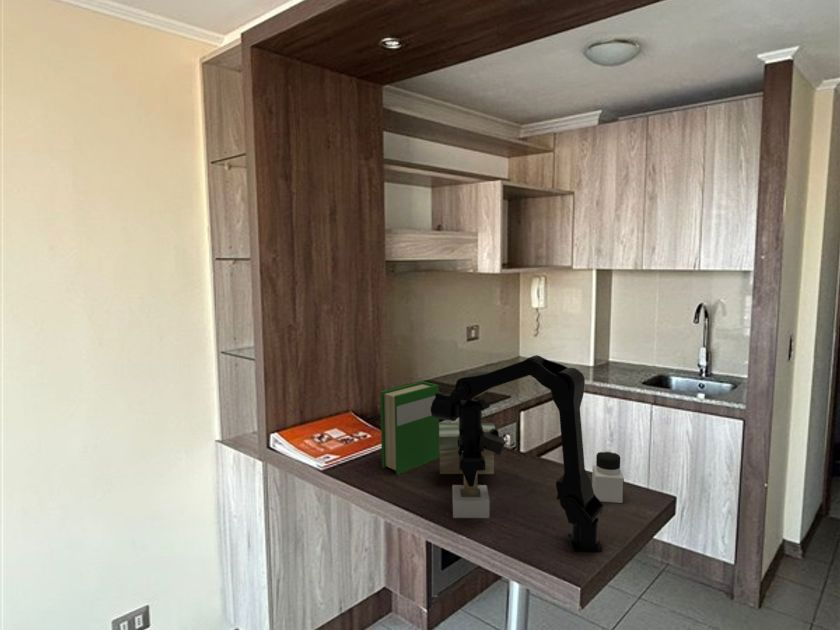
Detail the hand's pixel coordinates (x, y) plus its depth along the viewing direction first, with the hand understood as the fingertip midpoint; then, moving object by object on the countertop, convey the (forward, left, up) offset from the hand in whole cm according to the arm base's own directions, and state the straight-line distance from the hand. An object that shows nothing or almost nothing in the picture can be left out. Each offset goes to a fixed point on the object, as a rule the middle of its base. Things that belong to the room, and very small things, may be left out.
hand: (470, 483), depth 141 cm
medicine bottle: (+8, -37, -7) cm, 38 cm away
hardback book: (+30, +17, -7) cm, 35 cm away
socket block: (0, 0, -7) cm, 7 cm away
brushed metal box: (+18, 0, -7) cm, 19 cm away
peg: (0, 0, -2) cm, 2 cm away
